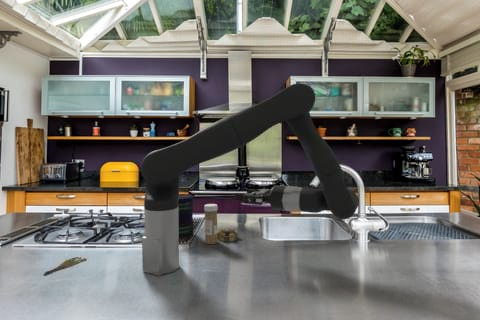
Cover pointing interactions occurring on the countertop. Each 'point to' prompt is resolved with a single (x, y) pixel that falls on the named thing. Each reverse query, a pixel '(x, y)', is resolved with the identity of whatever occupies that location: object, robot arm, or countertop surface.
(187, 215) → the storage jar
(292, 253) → the countertop surface
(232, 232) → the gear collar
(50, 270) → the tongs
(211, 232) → the sprinkles bottle
